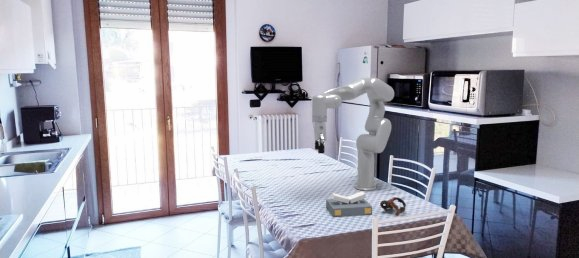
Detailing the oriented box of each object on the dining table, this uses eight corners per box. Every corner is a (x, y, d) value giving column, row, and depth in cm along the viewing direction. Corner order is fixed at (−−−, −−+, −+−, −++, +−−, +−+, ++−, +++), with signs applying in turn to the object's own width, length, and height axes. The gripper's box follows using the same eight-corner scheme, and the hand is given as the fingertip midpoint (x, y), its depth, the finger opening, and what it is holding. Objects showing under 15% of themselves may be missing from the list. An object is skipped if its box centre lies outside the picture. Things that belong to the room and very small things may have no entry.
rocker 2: (363, 194, 194) (362, 191, 194) (366, 197, 190) (365, 193, 189) (348, 200, 193) (347, 196, 193) (351, 203, 189) (349, 199, 189)
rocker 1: (345, 200, 193) (347, 196, 193) (348, 203, 189) (349, 199, 189) (330, 196, 192) (332, 192, 191) (333, 199, 187) (334, 195, 187)
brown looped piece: (397, 208, 196) (404, 196, 191) (402, 222, 188) (410, 211, 183) (375, 204, 193) (382, 192, 189) (379, 218, 185) (386, 206, 181)
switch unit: (362, 204, 200) (362, 195, 199) (372, 214, 186) (372, 204, 185) (326, 206, 197) (326, 197, 196) (333, 217, 183) (333, 206, 182)
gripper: (330, 120, 195) (329, 154, 197) (323, 116, 212) (323, 147, 214) (315, 121, 194) (315, 155, 197) (309, 117, 211) (310, 148, 214)
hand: (319, 151), depth 206 cm, fingers open, 9 cm apart
